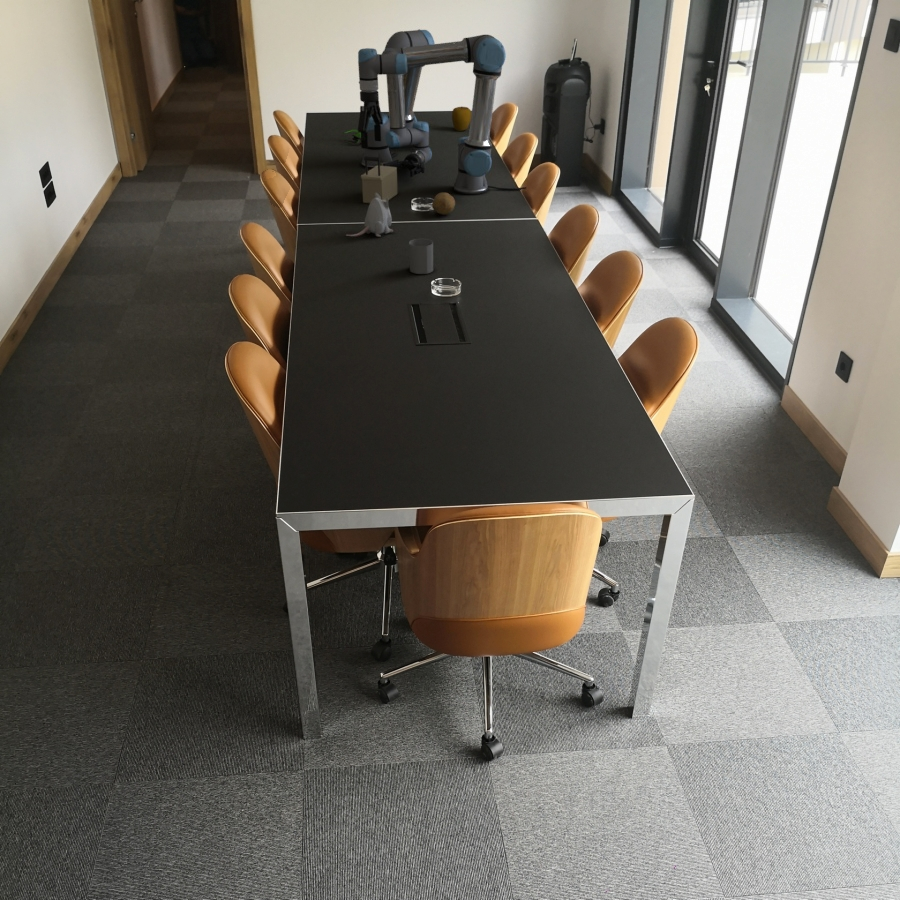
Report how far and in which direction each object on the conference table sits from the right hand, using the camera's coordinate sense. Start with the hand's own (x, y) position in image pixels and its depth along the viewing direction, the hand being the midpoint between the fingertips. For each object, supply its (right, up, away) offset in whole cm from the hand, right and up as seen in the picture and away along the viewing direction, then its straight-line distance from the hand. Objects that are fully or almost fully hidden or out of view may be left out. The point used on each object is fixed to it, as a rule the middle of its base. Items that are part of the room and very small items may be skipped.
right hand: (371, 144), depth 363 cm
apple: (+39, +53, +128) cm, 144 cm away
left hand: (+9, -2, +30) cm, 32 cm away
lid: (+2, -8, +12) cm, 15 cm away
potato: (+30, -29, 0) cm, 42 cm away
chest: (+2, -17, +19) cm, 25 cm away
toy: (+1, -45, -25) cm, 51 cm away
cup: (+23, -64, -55) cm, 87 cm away
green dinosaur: (-9, +37, +103) cm, 110 cm away
